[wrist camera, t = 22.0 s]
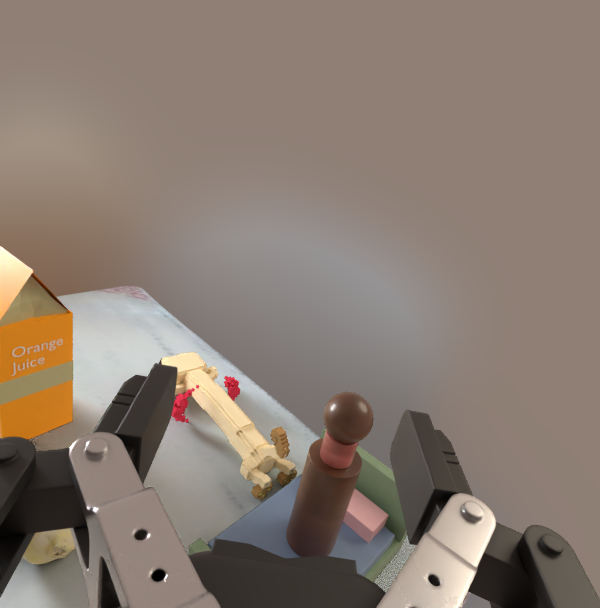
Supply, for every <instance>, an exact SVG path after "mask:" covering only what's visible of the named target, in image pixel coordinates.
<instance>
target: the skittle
mask: <svg viewBox="0 0 600 608" xmlns="http://www.w3.org/2000/svg"><path fill="white" fill-rule="evenodd" d="M323 420H324V425H325V428H326V432H325V436H324V438H322V439H319V440H317V441H315V442H314V443H313V444H312V445H311V446H310V449H309V452H308V456H307V459H306V463H305V467H304V470H303V474H302V477H301V481H300V484H299V488H298V491H297V495H296V499H295V502H294V506H293V509H292V513H291V516H290V520H289V523H288V527H287V531H286V537H287V541H288V544H289V546H290V547H291V549H292V550H293V551H294V552H295V553H296V554H297V555H299V556H300V557H307V556H317V555H324V556H328V555H330V553H331V552H332V551H333V548H334V545H335V543H336V540H337V537H338V534H339V531H340V528H341V526H342V523H343V520H344V517H345V514H346V511H347V508H348V506H349V503H350V500H351V497H352V494H353V491H354V489H355V486H356V483H357V480H358V477H359V474H360V471H361V469H362V459H361V457H360V455H359V453H358V452H357V451H356V449H357V446H358V443H359V441H360V440H362V439H363V438H365V437H366V436H367V435H368V433H369V432H370V430H371V428H372V425H373V412H372V409H371V406H370V405H369V403H368V402H367V401H366V400H365V399H364V398H363V397H362V396H360V395H358V394H356V393H352V392H343V393H340V394H337V395H335V396H334V397H332V398H331V399H330V400H329V402H328V403H327V405H326V407H325V409H324V415H323Z"/></svg>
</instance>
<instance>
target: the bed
mask: <svg viewBox="0 0 600 608" xmlns="http://www.w3.org/2000/svg"><path fill="white" fill-rule="evenodd" d="M325 432H326V428H324V429H323V432H322V435H321V439H322V438H324V436H325ZM356 451H357V452H358V453H359V455H360V457H361V459H362V469H361V471H360V474H359V477H358V480H357V483H356V486H355V489H354V491H353V494H352V497H351V500H350V503H349V506H348V508H347V511H346V514H345V517H344V520H343V523H342V526H341V528H340V531H339V534H338V537H337V540H336V543H335V545H334V548H333V551H332V552H331V553H330V555H328V556H331V557H337V558H343V559H350V560H356V568H357V573H358V574H360V575H362V576H364V577H366V578H367V579H369V580H371V581H372V582H374V580H375V579H376V578H377V577H378V575H379V574H380V573H381V572H382V571H383V569H384V568H385V567H386V566H387V564H388V563H389V562H390V561H391V560H392V558H393V557H394V556H395V555H396V553H397V552H398V551H399V550H400V548H401V546H402V544H403V542H404V539H405V537H406V535H407V530H406V526H405V522H404V517H403V513H402V509H401V504H400V500H399V496H398V491H397V487H396V482H395V478H394V474H393V471H392V470H391V469H389V468H388V467H387V466H385V465H384V464H383V463H381V462H380V461H379V460H377V459H376V458H374V457H373V456H372V455H370V454H369V453H367V452H366V451H365V450H363V449H362V448H361V447H359V446H357V449H356ZM301 477H302V474H301V475H300V476H299V477H297V478H296V479H295V480H293V481H292V482H290V483H289V484H288V485H286V486H285V487H284V488H282V489H281V490H279V491H278V492H277V493H275V494H274V495H273V496H271V497H270V498H268V499H267V500H266V501H264V502H263V503H262V504H260V505H259V506H257V507H256V508H255V509H253V510H252V511H251V512H249V513H248V514H247V515H245V516H244V517H242V518H241V519H240V520H238V521H237V522H236V523H234V524H233V525H231V526H230V527H229V528H227V529H226V530H225V531H223V532H222V533H220V534H219V535H218V536H216V537H215V538H216V539H222V540H229V541H235V542H241V543H248V544H251V545H254V546H256V547H259V548H261V549H263V550H266V551H268V552H271V553H273V554H276V555H278V556H280V557H283V558H296V557H300V556H299V555H297V554H296V553H295V552H294V551H293V550H292V549H291V547H290V546H289V544H288V541H287V537H286V531H287V527H288V523H289V520H290V516H291V513H292V509H293V506H294V502H295V499H296V495H297V491H298V488H299V484H300V481H301ZM213 542H214V539H212V540H211V541H209V542H208V546H207V545H206V543H205V542H204V541H203V540H202V539H201V538H200V539H199V540H197V541H196V542H194V543H193V544H192V545H190V547H189V554H188V555H191V554H194V553H197V552H202V551H208V550H212V547H213Z"/></svg>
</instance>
